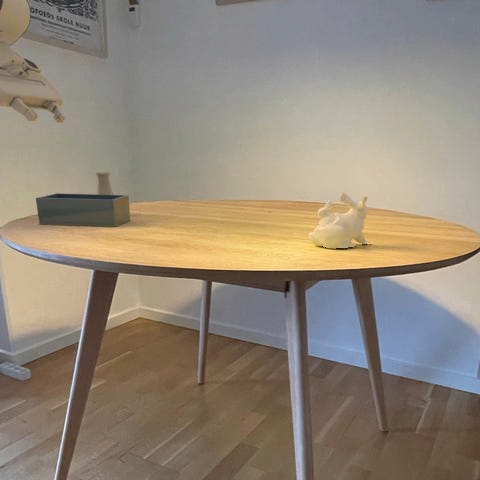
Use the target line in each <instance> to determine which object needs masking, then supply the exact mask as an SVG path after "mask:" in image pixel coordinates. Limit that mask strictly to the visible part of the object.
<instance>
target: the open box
mask: <svg viewBox="0 0 480 480" xmlns="http://www.w3.org/2000/svg"><path fill="white" fill-rule="evenodd" d="M35 202H36V203H35V204H36V211H37V218H38V224H39V225H47V226H73V227H74V226H75V227H103V228H104V227H105V228H117V227H119V226H121V225H123V224H125V223H128V222H129V221H131V211H130V209H131V208H130V197H129V195H128V194H113V195H102V194H96V193H62V192H59V193H58V192H55V193H52V194H51V193H50V194H46V195H43V196H37V197H35Z"/></svg>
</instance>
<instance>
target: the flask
mask: <svg viewBox="0 0 480 480" xmlns="http://www.w3.org/2000/svg"><path fill="white" fill-rule="evenodd" d="M95 175H96V176H97V177H96V178H97V188H96V189H97V190H96V193H95V194H102V195H114V191H113V190H112V186H111V181H110V175H111V172H108V171H106V172H105V171H99V172H95Z"/></svg>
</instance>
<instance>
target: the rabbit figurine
mask: <svg viewBox="0 0 480 480" xmlns="http://www.w3.org/2000/svg"><path fill="white" fill-rule="evenodd" d="M368 198H369V197H368V196H363V198H362V199H361V200H359V201H355V200H354V199H353V198H352V197H351V196H350V195H348V194H347V193H346V192H344V191H343V192H341V193H340V196H339V200H338V201H339V202H341V203H342V204H344V205H347V206H348V207H349V208H350V209H349V210H348V211H347V212H344V213H343V212H342V213H341V212H338V211H337V212H335V213H334V214H333V213H329V210H332V209H334V207H335V204H334V203H332V200H331V199H329V200H327V202H326V203H325V205H324V206H323V207H320V208H319V209H318V210H317V217H318V218H319V219H320V220H319V223H318V225H317V226H314V229H313V231H311V232H309V233H308V240H309V241H310V242H311V243H312V244H314V245H315V246H318V247H322V246H323V247H322V248H325V247H326V248H325V249H336V248H348V247H353V248H355V247H354V246H356V247H357V245H356V244H355V243H354V242H353V241H352V240H355V241H356V242H357V243H359V244H360V243H362V244H367V243H371V242H370V241H367V240H366V237H365V236H364V234H363V230H364V227H365V221H364V220H365V219H367V210H366V209H367V205H366V203H367V201H368ZM362 244H361V245H362ZM348 249H349V248H348Z"/></svg>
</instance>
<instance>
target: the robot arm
mask: <svg viewBox="0 0 480 480" xmlns="http://www.w3.org/2000/svg"><path fill="white" fill-rule="evenodd" d="M31 14H32V13H31V8H30V5H29V1H28V0H0V107H5V108H12V109H13V110H14V111H16V112H17V113H19V114H21V115H22V116H24V117H25V118H26V119H27V121H29V122H36V120H37V119H38V117H39V116H38V115H39V114H38V113H37V112H36V111H35V110H39V111H48V112H49V113H52V115H53V117H52V118H53V120H54V121H55V122H56V123H59V124H60V123H61V124H62V123H64V121H65V120H66V115H64V114H63V112H62V111H61V106H62V105H63V103H64V98H63V95H62V94H61V93H60V91H59V90H58V89H57V87H56V86H55V85H54V84H53V83H52V82H51V81H50V79H48V77H47V76H46V75H44V74H43V73H41V72H42V69H41V67H40V66H39V65H38V64H37V63H35V62H33V61H31V60H29V59H27V58H25V57H23V56H22V55H21V54H20V53H18V52H16V51H15V50H13V48H12V47H11V46H12V45H14V44H15V43H16V42H17V41H18V40H19V39H20V38H21V37H22V36H23V35H24V34H25V32H26V31H27V30H28V28H29V27H30V23H31V19H32V18H31V17H32V15H31Z"/></svg>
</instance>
